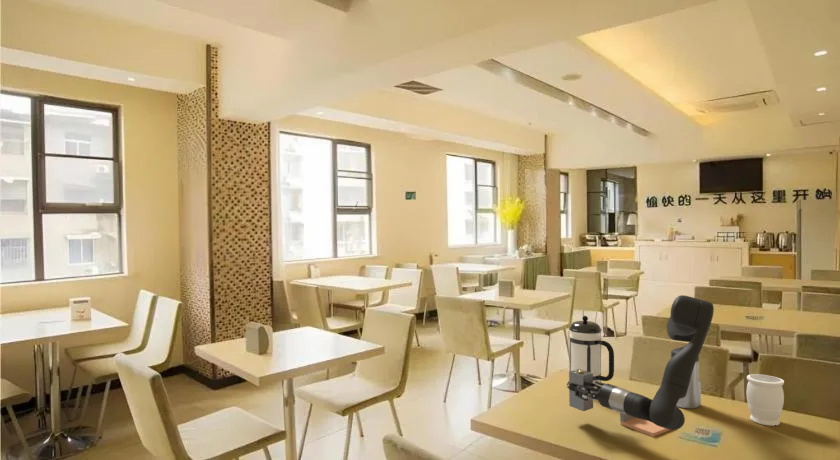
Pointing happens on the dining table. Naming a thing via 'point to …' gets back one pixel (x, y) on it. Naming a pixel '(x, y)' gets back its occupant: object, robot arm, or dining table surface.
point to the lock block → (582, 380)
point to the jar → (765, 398)
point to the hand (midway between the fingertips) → (574, 384)
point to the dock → (641, 425)
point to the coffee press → (588, 349)
